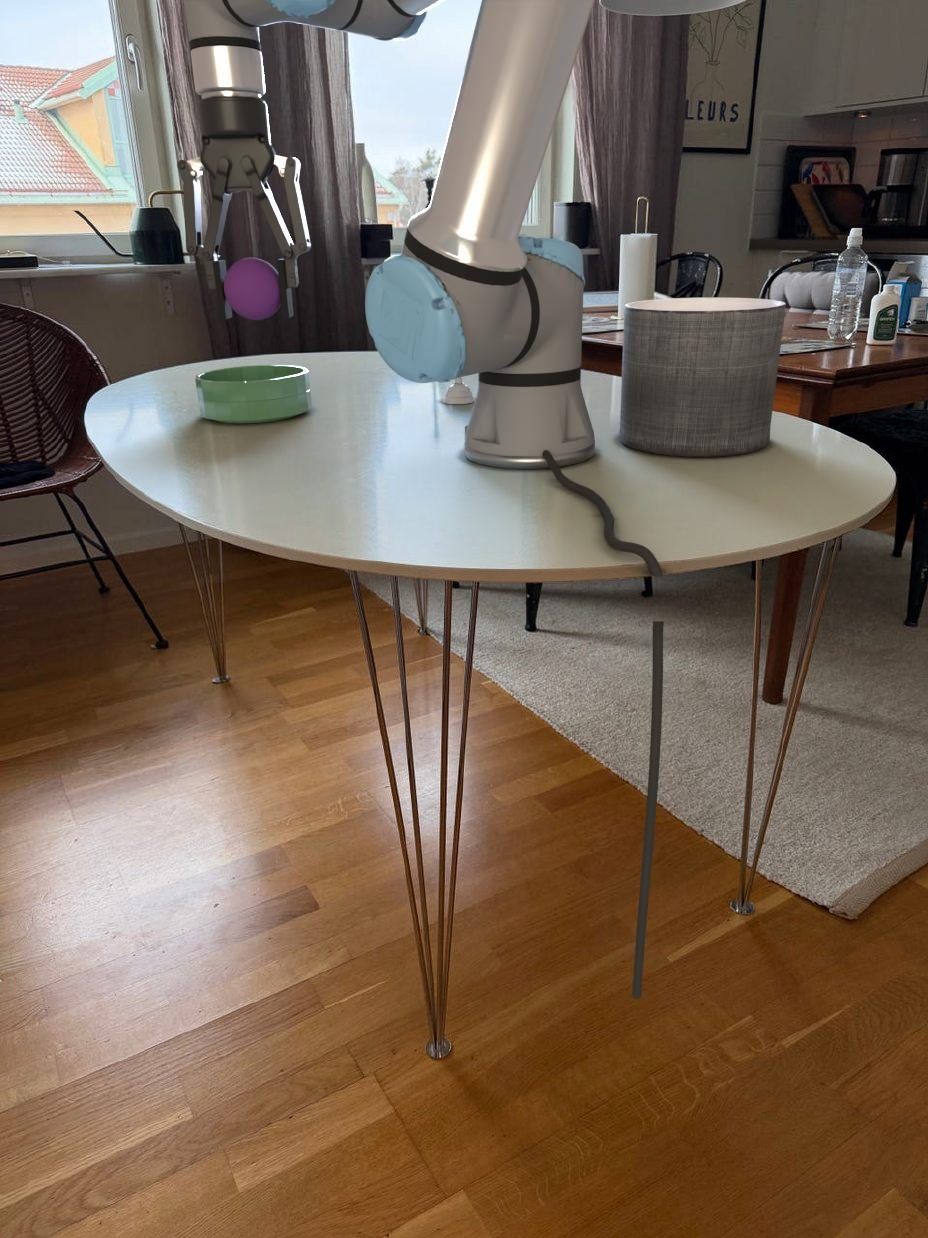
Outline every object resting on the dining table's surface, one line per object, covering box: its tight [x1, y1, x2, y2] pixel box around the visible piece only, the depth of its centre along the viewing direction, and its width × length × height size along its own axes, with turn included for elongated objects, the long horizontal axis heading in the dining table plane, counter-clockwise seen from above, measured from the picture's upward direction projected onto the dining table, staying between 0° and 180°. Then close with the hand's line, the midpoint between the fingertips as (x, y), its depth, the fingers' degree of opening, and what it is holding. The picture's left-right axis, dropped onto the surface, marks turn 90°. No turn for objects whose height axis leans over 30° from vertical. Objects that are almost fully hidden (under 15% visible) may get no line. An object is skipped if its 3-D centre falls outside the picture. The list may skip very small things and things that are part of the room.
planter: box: [618, 297, 787, 458], centre depth 101 cm, size 18×18×16 cm
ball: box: [224, 257, 281, 321], centre depth 103 cm, size 7×7×7 cm
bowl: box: [194, 364, 313, 424], centre depth 127 cm, size 16×16×6 cm
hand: (257, 317), depth 104 cm, fingers closed on ball, 7 cm apart
